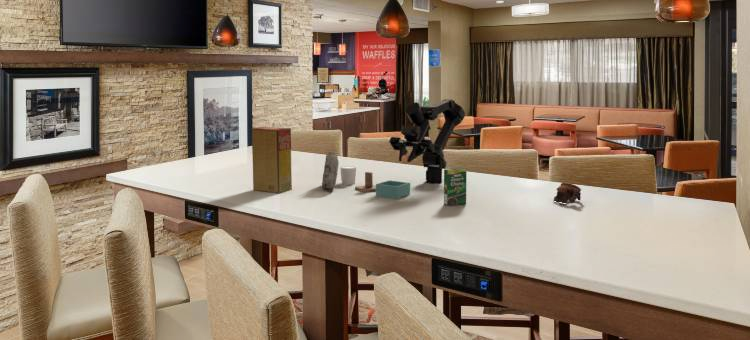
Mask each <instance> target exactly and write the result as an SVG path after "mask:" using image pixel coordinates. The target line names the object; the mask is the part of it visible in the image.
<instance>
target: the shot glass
mask: <svg viewBox="0 0 750 340" xmlns="http://www.w3.org/2000/svg"><path fill="white" fill-rule="evenodd" d="M339 170H340V179H341V184H342V185H348V186H350V185H355V183H356V173H357V167H356V166H355V165H354V166H353V165H345V166H340V167H339Z"/></svg>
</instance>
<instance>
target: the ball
mask: <svg viewBox="0 0 750 340" xmlns="http://www.w3.org/2000/svg"><path fill="white" fill-rule="evenodd" d="M409 156H410V155H408V154H406V155H403V156H402V158H401V163H402V164H403V165H404V164H405V165H407V164H409V163H410V162H408V161H407V160H408V158H409Z"/></svg>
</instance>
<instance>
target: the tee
mask: <svg viewBox="0 0 750 340" xmlns="http://www.w3.org/2000/svg"><path fill="white" fill-rule="evenodd" d="M373 178H374V177H373V172H372V171H367V172H366V171H365V172H364V185H358V186H357V185H356V186H355V189H354V190H357V191H360V192H363V193H371V192H373V193H374V192H376V184H375V185H374V184H373V180H374V179H373Z"/></svg>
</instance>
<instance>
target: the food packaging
mask: <svg viewBox="0 0 750 340" xmlns="http://www.w3.org/2000/svg"><path fill="white" fill-rule="evenodd" d="M291 131H292V128H290V127H276V126H274V127H273V126H260V127H252V128H251V146H252V147H251V149H252V152H251V153H252V181H253V182H252V186H253V191H258V192H264V193H271V194H282V193H284V192H285V193H286V192H288V191H293V188H292V187H293V185H292V184H293V183H292V179H293V178H292V132H291Z"/></svg>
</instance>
